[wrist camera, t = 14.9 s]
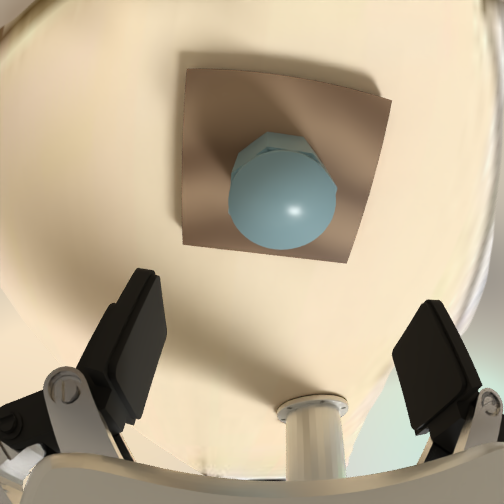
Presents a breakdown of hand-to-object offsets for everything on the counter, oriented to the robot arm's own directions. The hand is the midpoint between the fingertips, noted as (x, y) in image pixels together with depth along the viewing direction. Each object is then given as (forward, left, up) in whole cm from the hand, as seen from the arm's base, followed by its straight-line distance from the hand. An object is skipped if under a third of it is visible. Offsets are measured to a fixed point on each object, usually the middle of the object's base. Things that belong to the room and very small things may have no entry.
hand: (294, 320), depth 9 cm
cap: (0, 0, -13) cm, 13 cm away
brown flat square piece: (+1, 0, -14) cm, 14 cm away
